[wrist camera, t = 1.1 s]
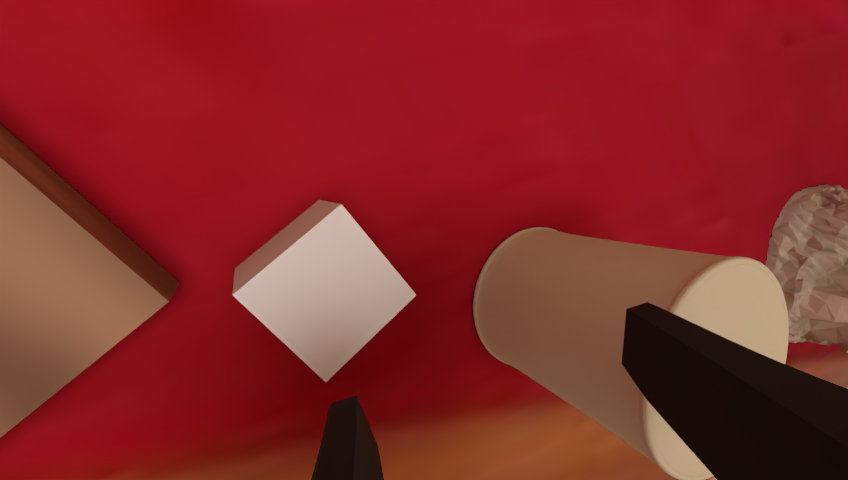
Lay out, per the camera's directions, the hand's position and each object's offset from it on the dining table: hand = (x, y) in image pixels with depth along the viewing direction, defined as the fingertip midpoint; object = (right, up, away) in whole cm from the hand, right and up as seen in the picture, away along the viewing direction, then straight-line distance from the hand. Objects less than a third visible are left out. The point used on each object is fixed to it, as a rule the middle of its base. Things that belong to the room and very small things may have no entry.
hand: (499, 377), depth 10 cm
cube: (-8, +2, +10) cm, 12 cm away
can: (+5, 0, +16) cm, 17 cm away
